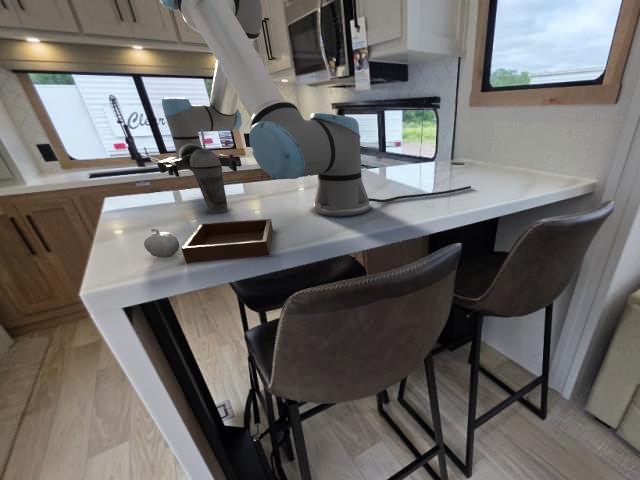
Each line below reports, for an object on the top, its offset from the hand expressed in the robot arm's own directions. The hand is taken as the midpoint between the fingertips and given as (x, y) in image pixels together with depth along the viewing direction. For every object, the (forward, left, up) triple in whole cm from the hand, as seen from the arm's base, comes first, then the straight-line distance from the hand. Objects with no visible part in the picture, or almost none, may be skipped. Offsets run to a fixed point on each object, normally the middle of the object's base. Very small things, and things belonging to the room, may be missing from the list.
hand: (206, 168), depth 85 cm
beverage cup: (0, +1, -11) cm, 11 cm away
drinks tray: (-8, +29, -11) cm, 32 cm away
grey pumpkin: (+4, +31, -11) cm, 33 cm away
